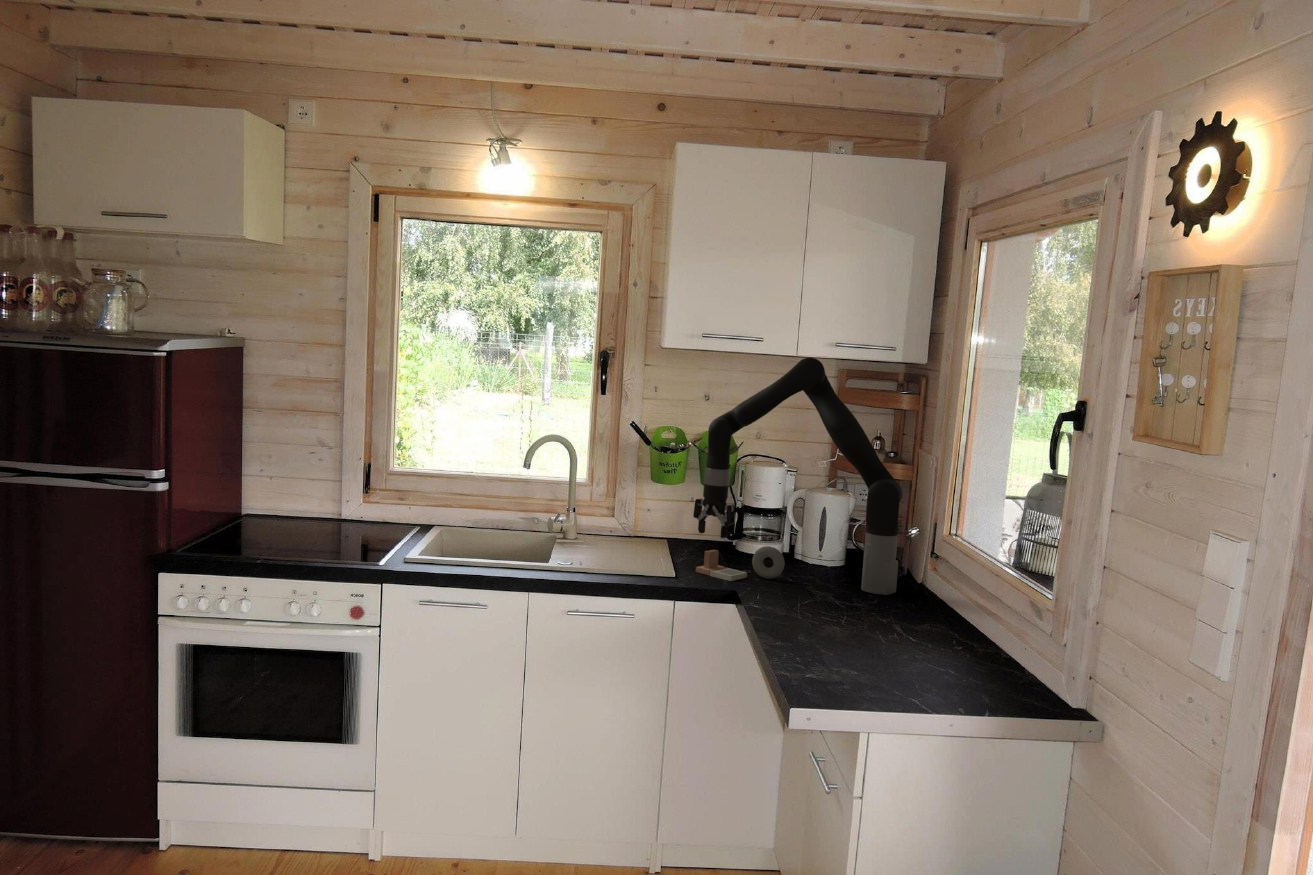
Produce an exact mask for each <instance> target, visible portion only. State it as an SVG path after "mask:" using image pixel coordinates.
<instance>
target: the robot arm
mask: <svg viewBox="0 0 1313 875" xmlns="http://www.w3.org/2000/svg"><path fill="white" fill-rule="evenodd" d="M825 369H826V368H825V366H824V364H823V362H821V360H819V359H817V358H814V357H805V358H802V359H800V361H798V362H797V363H796V364H795V365H794V366H793V367H792V368H791V369H789V370H788V371H787V372H786V373H784V374H783V376H781V377H780V378H779V379H777V380H776V381H774V382H773V383H772V384H770V385H769V386H767V387H765V388H762V390H760V391H758V392H757V393H755V394H754V395H751V396H750V397H748V398H746V399H745V400H743V401H742V402H740V403H739V404H738V405H736V406H735V407H733V408H732V409H731V410H728V411H727V412H725V413H723V414H721V415H720V416H718V417H716V418H714V419H713V420H712V421H711V422H710V424H709V426H708V431H707V432H708V434H707V435H708V436H707V455H706V462H705V464H706V465H705V471H704V478H703V479H704V480H703V490H702V491H703V492H702V493H703V495H702V496H703V498H696V499H694V507H693V514H692V516H693V518H694V519H696V520H697V521H698V522H697V523H698V525H697V531H698V533H699V534H704V533H706V522H707V521H706V519H707V518H708V517H710V516H712V517H715V518H717V520H719V522H720V524H721V525H720V536H719V537H720V538H721V539H726V538H727V537H728V535H729V527H730V526H731V525H735V523H736V522H735V521H736V520H735V517H736V506H735V504H728V503H727V500H728V496H729V486H730V485H729V484H730V462H731V460H730V459H731V456H730V450H731V441H732V435H734V434H736V433H737V432H739V431H740V430H742V429H743V428H745V427H747V426H750V425H752V424H753V423H755V422H757V421H758V420H760V419H761V418H763V417H765V415H768V414H769V413H770V412H771V411H773V410H774V409H775V408H776V407H778V406H779V405H780V404H782V403H783V402H785V400H787V399H789V398H790V397H792V396H794V395H796V394H797V393H800V392H802V391H803V392H804V394H805V395H806V397H807V398H808V399H809V400H810V401H811V403H812V404H813V406H814V407H815V409H816V411H817V413H818V414H819V418H821V422H822V423H823V426H824V427H825V429H826V431H827V433H828V435H829V437H830V438H831V440H832V441H833V443H834V444H835V446H836V447H837V450H838V451H839V452H840V454H841V455H842V456H843V457H844V458H845V459H846V460H847V461H848V462H849V463H850V464H851V466H853V467H854V469H855V470H856V471H857V472H858V474H859V475H860V476H861V478H862V480H863V481H864V484H865V485H866V487H867V490H868V491H867V496H866V508H865V536H864V537H865V538H864V550H863V562H862V571H861V572H862V573H861V574H862V575H861V590H862V591H863V592H866V593H870V594H873V595H875V594H876V595H884V596H888V595H891V594H894V593H896V592H897V582H898V572H899V571H898V570H899V560H897V548H898V537H899V513H900V503H901V501H902V498H903V490H902V487H901V486H900V483H898V481H897V480H896V479H895V478H894V477H893V475H892V474H891V473H890V471H889V470H888V469H887V468H886V466H885V465H884V464H883V462H882V461H881V459H880V458H879V456H878V454H877V451H876V450H875V448H874V446H873V444H872V442H871V440H870V439H869V438H868V436H867V433H866V432H865V430H864V428H863V427H862V426H861V424H860V423H859V421H858V419H857V418H856V417H855V415H854V414H853V413H852V411H851V410H850V409H849V408H848V406H847V405H846V404H845V403H844V402H843V401H842V400H841V399H840V398H839V396H838V395H837V393H836V392H835V389H834V388H833V386H832V384H831V383H830V381H829V379H828V377H827V374H826V370H825ZM703 507H704V508H703Z"/></svg>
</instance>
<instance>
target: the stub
mask: <svg viewBox="0 0 1313 875" xmlns="http://www.w3.org/2000/svg"><path fill="white" fill-rule="evenodd" d="M719 553H720V552H719V550H717V549H711V550H705V551H704V555H703V556H704V557H703V565H701V566H696V567H695V573H699V574H702V575H706V576H710V571H712V570H717V569H721V568H726V566H724V565H719V555H720V554H719Z"/></svg>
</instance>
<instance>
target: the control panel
mask: <svg viewBox="0 0 1313 875" xmlns="http://www.w3.org/2000/svg"><path fill="white" fill-rule="evenodd" d="M709 576H710V577H713V578H716V579H720V580H725V581H729V582H732V581H737V580H742V579H745V578H747V577H748V572H745V571H741V570H738V569H733V568H729V567H725V568H721V569H717V570H712V571H710V575H709Z"/></svg>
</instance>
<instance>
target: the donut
mask: <svg viewBox="0 0 1313 875" xmlns="http://www.w3.org/2000/svg"><path fill="white" fill-rule="evenodd" d="M767 558H770V559H771V560H772V563H773V564H772V566H771V567H767V566H765V564H764V560H765V559H767ZM751 562H752V567H753V570H754V572H755V573H756V574H757V575H758V576H759V577H761V578H763V579H767V580H772V579H776V578H778V577H779V576H780V575H781V574H782V572H783V571H784V569H785V563H786V562H785V559H784V555H783V554H782V552H781V551H780V550H779V549H777V548H776V547H774V546H770V545H769V546H767V545H766V546H765V545H764V546H762V547H760V548H758V549H757V550H756V551H755V552H754V554H753V555H752V559H751Z"/></svg>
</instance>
